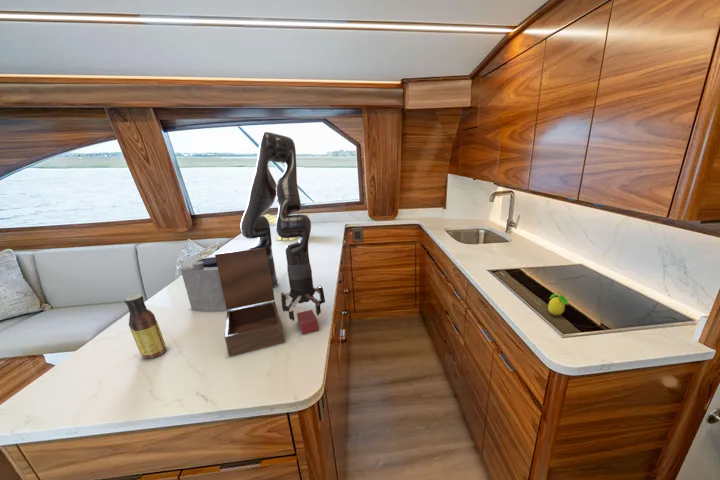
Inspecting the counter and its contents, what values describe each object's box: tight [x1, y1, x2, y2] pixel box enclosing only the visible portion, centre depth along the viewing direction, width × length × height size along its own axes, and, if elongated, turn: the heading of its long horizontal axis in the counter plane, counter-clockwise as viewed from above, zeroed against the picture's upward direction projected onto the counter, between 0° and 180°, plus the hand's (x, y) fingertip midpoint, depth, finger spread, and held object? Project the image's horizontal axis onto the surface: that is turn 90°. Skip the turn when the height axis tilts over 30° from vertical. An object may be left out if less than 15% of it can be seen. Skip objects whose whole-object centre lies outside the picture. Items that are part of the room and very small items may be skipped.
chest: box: [224, 300, 285, 357], centre depth 101 cm, size 19×16×7 cm
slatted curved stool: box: [263, 212, 309, 241], centre depth 227 cm, size 30×16×18 cm, turn 93°
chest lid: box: [214, 248, 276, 311], centre depth 107 cm, size 20×16×5 cm
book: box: [296, 309, 319, 335], centre depth 106 cm, size 9×6×4 cm, turn 27°
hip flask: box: [180, 261, 230, 312], centre depth 117 cm, size 16×4×20 cm, turn 84°
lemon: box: [547, 292, 569, 317], centre depth 110 cm, size 7×6×10 cm
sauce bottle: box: [123, 293, 167, 360], centre depth 89 cm, size 6×6×20 cm
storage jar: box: [196, 256, 217, 267], centre depth 134 cm, size 10×10×15 cm
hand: (305, 316), depth 105 cm, fingers open, 8 cm apart
